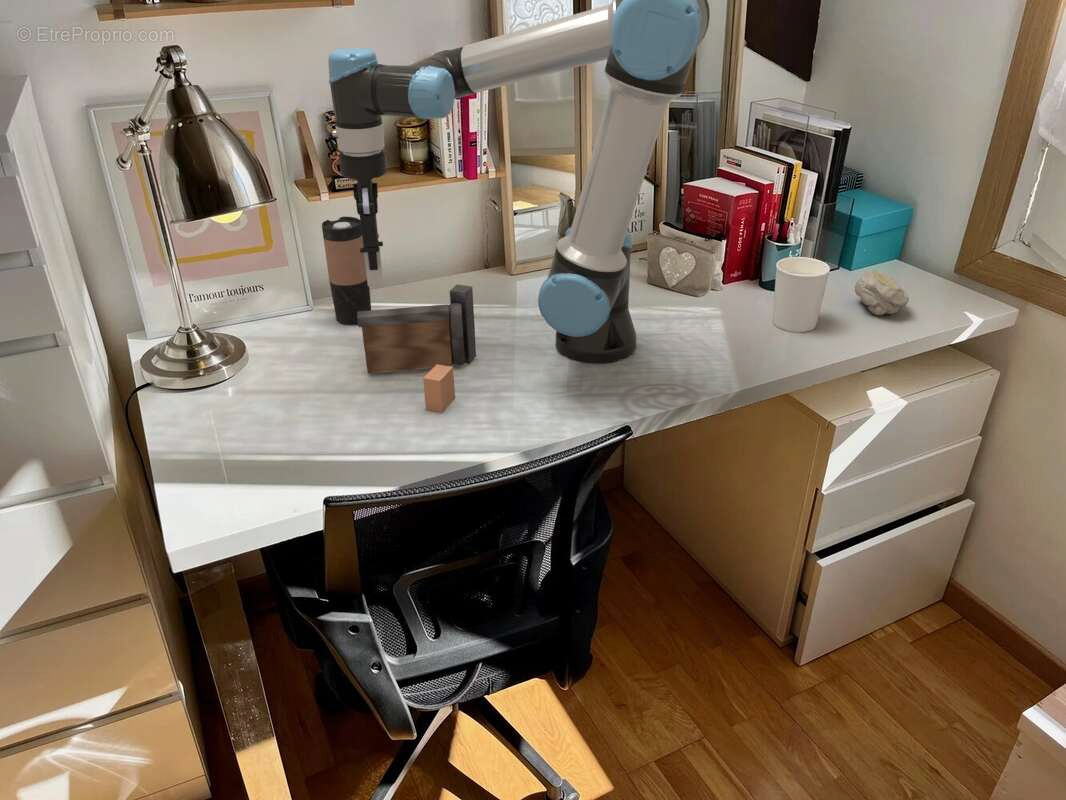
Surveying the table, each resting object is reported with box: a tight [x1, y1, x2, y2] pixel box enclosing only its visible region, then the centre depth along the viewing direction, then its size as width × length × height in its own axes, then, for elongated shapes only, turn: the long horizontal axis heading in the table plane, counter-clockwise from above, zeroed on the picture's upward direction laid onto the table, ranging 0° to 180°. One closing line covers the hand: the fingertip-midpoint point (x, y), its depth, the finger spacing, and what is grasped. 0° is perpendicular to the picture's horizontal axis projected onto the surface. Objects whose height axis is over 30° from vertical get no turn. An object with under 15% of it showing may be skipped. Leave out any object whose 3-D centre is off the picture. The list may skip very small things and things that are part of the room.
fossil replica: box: [854, 269, 910, 316], centre depth 171 cm, size 12×8×10 cm
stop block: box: [422, 364, 456, 413], centre depth 142 cm, size 3×5×6 cm, turn 159°
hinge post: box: [449, 284, 477, 365], centre depth 154 cm, size 3×3×14 cm
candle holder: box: [772, 256, 831, 333], centre depth 165 cm, size 10×10×12 cm
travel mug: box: [321, 216, 372, 326], centre depth 169 cm, size 8×8×20 cm
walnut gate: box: [357, 303, 466, 374], centre depth 151 cm, size 18×3×11 cm, turn 99°
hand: (375, 284), depth 152 cm, fingers closed
